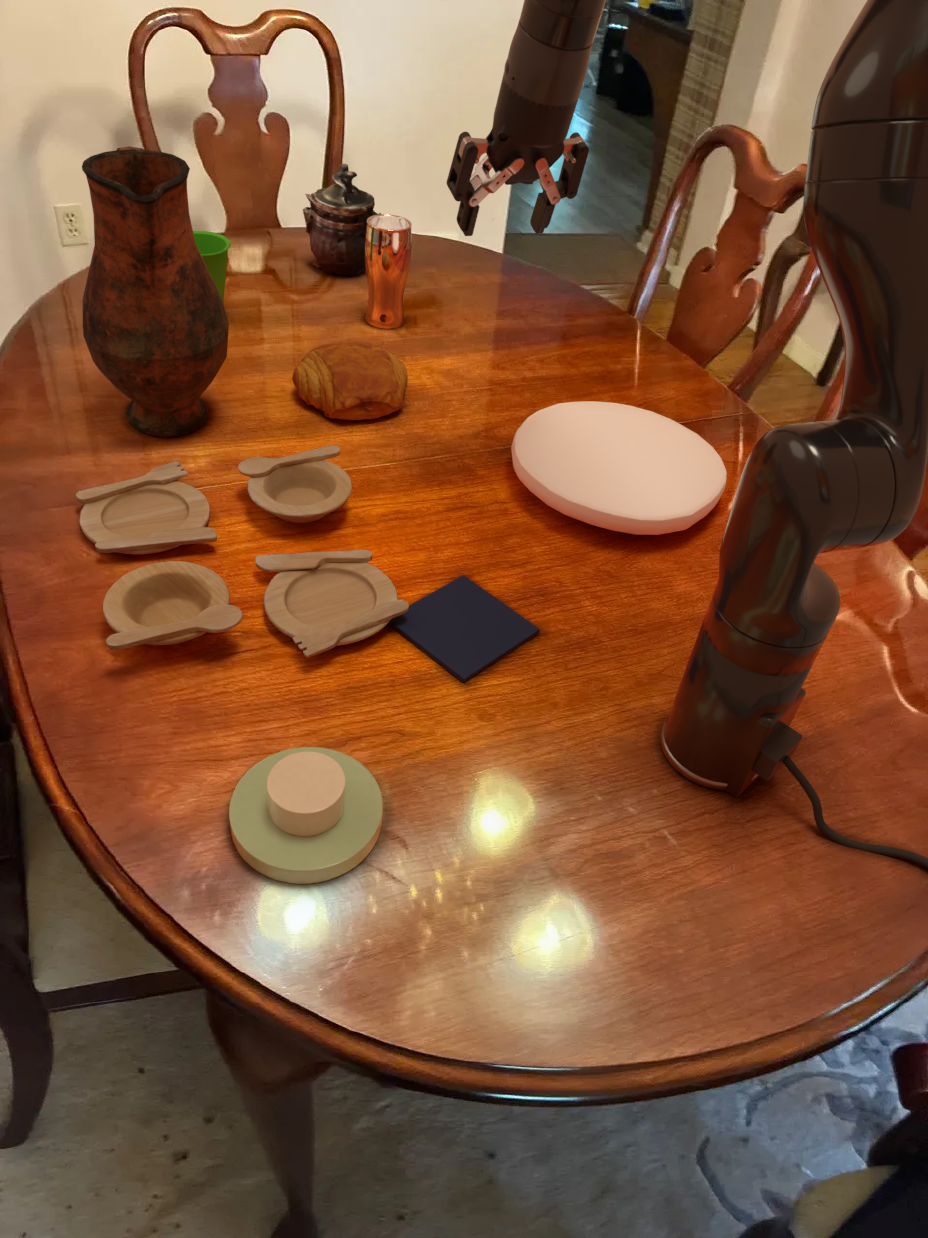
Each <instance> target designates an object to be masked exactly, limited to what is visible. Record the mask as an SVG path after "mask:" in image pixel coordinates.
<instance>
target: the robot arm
mask: <svg viewBox="0 0 928 1238" xmlns="http://www.w3.org/2000/svg"><path fill="white" fill-rule="evenodd" d="M606 2H607V0H523V4H522V8H521V12H520V16H519V20H518V23H517V26H516V29H515V32H514V34H513V37H512V39H511V42H510V46H509V49H508V53H507V57H506V60H505V63H504V69H503V75H502V79H501V83H500V87H499V91H498V96H497V100H496V104H495V107H494V112H493V119H492V127H491V130H490V131H489V133H488V135H487V136H486V137H485V138H482V137H481V138H480V137H473V136H471V134H470V132H468V131H462V132H461V133H460V134H459V135H458V139H457V142H456V145H455V146H456V147H455V149H454V154H453V157H452V161H451V164H450V168H449V171H448V174H447V175H448V176H447V178H446V186H447V188H448V190H449V192H450V194H451V195H452V197H453V199H454V201H456V202H458V203H459V206H458V211H457V215H456V222H457V225H458V227H459V229H460V231H461V232H462V233H463V235H464V237H473V235H474V231H475V228H476V227H475V226H476V223H477V219H478V214H479V210H480V205H479V204H480V203H481V202H482V201H484V199H485V198H486V197H487V196H489V194H495V193H496V192H497V191H499V189H500V188H501V187H502V186H503V185H506V186H510V185H511V186H512V185H516V184H523V185H533V184H534V182H537V181H538V183H539V185H540V187H541V190H542V192H538V194H537V198H536V200H535V204H534V207H533V210H532V213H531V217H530V221H529V222H530V223H529V225H530V227H531V228H532V230H533V232H534V233H535V234H536V235H538V234H540V235H541V234H543V233H545V229H547V228H548V227H549V225H550V224H551V221H552V220H551V219H552V217H553V214H554V211H555V209H556V205H557V204H559V203H560V201H561V200H562V199H565V198H567V199H568V200H572V199H575V198H576V196H577V195H578V191H579V188H580V184H581V181H582V178H583V174H584V170H585V167H586V166H585V165H586V163H587V158H588V156H589V153H590V147H589V146H588V144H587V143H586V141H585V140H584V138H583V137H582V135H581V134H580V133H579V132H577V131H576V132H573V133H571V134H570V136H569V138H568V137H567V136H568V135H569V130H570V127H571V124H572V121H573V117H574V114H575V111H576V108H577V105H578V102H579V99H580V95H581V92H582V89H583V86H584V82H585V80H586V76H587V73H588V68H589V65H590V59H591V53H592V48H593V44H594V41H595V38H596V34H597V31H598V29H599V25H600V22H601V19H602V15H603V12H604V9H605V5H606ZM811 130H812V131H810V139H809V148H808V156H807V163H806V173H805V180H804V181H805V182H804V187H803V188H804V189H803V204H802V207H803V209H802V210H803V211H802V212H803V214H802V215H803V220H804V221H803V222H804V226H805V231H806V235H807V239H808V242H809V246H810V249H811V251H812V255H813V257H814V260H815V263H816V265H817V268H818V270H819V273H820V275H821V278H822V281H823V283H824V284H825V288H826V290H827V292H828V294H829V297H830V300H831V302H832V304H833V306H834V309H835V312H836V315H837V319H838V320H839V325H840V329H841V333H842V340H843V348H844V352H843V353H844V355H843V356H844V364H843V380H842V387H841V388H842V390H841V397H840V404H839V409H838V414H837V416H836V419H832V420H820V421H819V420H817V421H807V422H796V423H788V424H782V425H778V426H775V427H773V428H771V429H769V430H768V431H767V432H765V433H764V434H763V435H762V436H761V437H760V438H759V439H758V440H757V442H756V443H755V445H754V446H753V448H752V449H751V451H750V453H749V455H748V457H747V459H746V461H745V464H744V467H743V469H742V471H741V475H740V478H739V481H738V484H737V488H736V491H735V494H734V495H735V496H734V498H733V502H732V506H731V510H730V512H729V516H728V519H727V523H726V526H725V531H724V533H723V537H722V540H721V544H720V549H719V557H718V580H717V582H716V585H715V588H714V590H713V593H712V595H711V598H710V601H709V603H708V607H707V608H706V612H705V615H704V618H703V620H702V623H701V626H700V627H699V631H698V632H697V633H698V634H697V636H696V639H695V641H694V644H693V647H692V650H691V653H690V655H689V658H688V661H687V664H686V665H685V669H684V672H683V674H682V677H681V679H680V681H679V685H678V688H677V690H676V693H675V696H674V699H673V701H672V704H671V707H670V710H669V712H668V713H667V716H666V719H665V720H664V723H663V725H662V728H661V732H660V739H659V740H660V747H661V751H662V753H663V755H664V757H665V758H666V760H667V762H668V763H669V764H670V765H671V766H672V767H673V768H674V769H675V771H677V772H678V773H679V774H680V775H681V776H683V777H685V778H686V779H688V780H689V781H691V782H692V783H694V784H697V785H699V786H702V787H705V788H708V789H713V790H719V791H725V792H727V793H728V794H730V795H731V796H733V797H735V798H736V797H739V796H740V795H741V794H742V793H743V792H744V791H745V790H746V789H747V788H748V787H749V786H750V785H751V784H752V783H754V782H755V781H756V780H757V779H758V778H759V777H761V779H763V780H765V781H766V782H768V781H769V780H770V779H771V778H772V777H773V776H774V775H775V774H776V773H777V772H778V771H779V770H780V769H781V768H782V767H783V766H785V767H786V770H788V772H790V775H792V776H793V777H794V779H795V780H796V781H797V783H798V784H799V786H800V787H801V788H802V789H803V791H804V793H805V794H806V796H807V797H808V799H809V801H810V802H811V806H812V811H813V812H812V813H813V819H814V823H815V825H816V827H817V829H818V830H819V831H820V833H822V834H823V835H824V836H825V837H827V838H828V839H829V840H831V841H833V842H834V843H837V844H839V845H841V846H844V847H846V848H851V849H855V850H859V851H863V852H867V853H871V854H877V855H881V856H882V855H883V856H888V857H894V858H899V859H903V860H907V861H910V862H913V863H915V864H918V865H920V866H922V867H924V868H926V869H928V857H926V856H924V855H921V854H919V853H916V852H913V851H909V850H906V849H903V848H898V847H893V846H892V847H891V846H885V845H879V844H872V843H866V842H862V841H857V840H853V839H850V838H848V837H845V836H843V835H841V834H840V833H838V832H836V831H834V829H832V828H831V827H830V826H829V825H828V824H827V823H826V821H825V819H824V815H823V814H824V813H823V807H822V803H821V800H820V798H819V797H820V796H819V795H818V794H817V791H816V790H815V789H814V787H813V786H812V784H811V783H810V781H809V779H808V778H807V777H806V776H805V775H804V773H803V772H802V771H801V770H800V768H799V767H798V765H796V763H795V762H794V760H793V759H792V756H793V755H794V754H795V752H796V750H797V748H798V746H799V744H800V743H801V740H802V739H803V736H804V735H802V734H801V733H800V732H798V731H797V730H795V729H794V728H792V727H791V725H792V722H793V720H794V718H795V717H796V714H797V712H798V710H799V709H800V706H801V705H802V702H803V701H804V699H805V696H806V693H807V690H806V689H805V688H803V686H804V684H805V681H806V679H807V678H808V675H809V674H810V671H811V669H812V668H813V665H814V663H815V661H816V659H817V658H818V655H819V653H820V651H821V649H822V647H823V645H824V643H825V641H826V639H827V637H828V635H829V633H830V632H831V630H832V627H833V625H834V623H835V621H836V620H837V617H838V615H839V612H840V609H841V601H842V600H841V594H840V590H839V588H838V586H837V584H836V582H835V581H834V580H833V579H832V577H831V576H830V575H829V574H828V573H827V571H825V570H824V569H823V568H822V567H821V566H819V565H818V564H817V563H815V561H816V559H817V557H818V556H819V555H820V554H826V553H834V552H840V551H841V552H842V551H847V550H855V549H862V548H868V547H873V546H879V545H882V544H884V543H888V542H890V541H892V540H895V539H896V538H897V537H899V535H901V534H902V533H903V532H904V531H905V530H906V529H907V528H908V526H909V525H910V523H911V522H912V520H913V518H914V516H915V514H916V513H917V510H918V507H919V505H920V501H921V498H922V494H923V490H924V485H925V480H926V474H927V466H928V465H927V464H928V0H866V1H865V4H864V5H863V7H862V8H861V10H860V11H859V13H858V15H857V16H856V18H855V20H854V21H853V23H852V25H851V26H850V29H848V32H847V33H846V35H845V37H844V39H843V41H842V43H840V46H839V47H838V50H837V52H836V54H835V55H834V57H833V59H832V61H831V63H830V65H829V67H828V69H827V71H826V73H825V75H824V78H823V79H822V82H821V85H820V87H819V91H818V94H817V97H816V100H815V105H814V110H813V114H812V122H811ZM484 154H486V155H485V156H484V157H483V158H482V159H481V160H480V158H481V157H482V156H483V155H484ZM562 156H563V162H562V165H561V169H560V172H559V177H558V180H555V178H554V176H553V174H552V171H551V169H550V168H551V167H553V165H554V164H555V163H556V162H557V161H558V160H559V159H560V158H562ZM475 165H476V166H475ZM492 169H493V171H494V173H495V174H494V175H492V177H491V175H490V171H491V170H492Z"/></svg>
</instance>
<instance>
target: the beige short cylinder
mask: <svg viewBox="0 0 928 1238" xmlns="http://www.w3.org/2000/svg"><path fill="white" fill-rule="evenodd" d="M345 786H346V779H345V774H344V771H343V769H342V768H341V766H340V765H339V764H338V763H337V762H336V761H335V760H334V759H332V758H331V757H329V756H327V755H325V754H322V753H318V752H308V751H306V752H298V753H294V754H291V755H289V756H286V757H285V758H283V759H281V760H280V761H279V762H277V763H276V764H275V765H274V767H273V768H272V769H271V771H270V773H269V775H268V778H267V797H268V811H269V815H270V817H271V819H272V821H273V822H274V823H275V825H276V826H277V827H279V828H280V829H281V830H283V831H285V832H287V833H289V834H292V835H296V836H314V835H318V834H321V833H323V832H326V831H327V830H329V829H331V828H332V827H333V826H334V825H335V824H336V823H337V822H338V821H339V820H340V818H341V817H342V815H343V812H344V809H345Z"/></svg>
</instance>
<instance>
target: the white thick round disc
mask: <svg viewBox="0 0 928 1238" xmlns="http://www.w3.org/2000/svg"><path fill="white" fill-rule="evenodd" d="M510 451H511V459H512V467H513V470H514V472H515V474H516V476H517V478H518V480H519V481H520V482H521V483H522V485H523V486H525V488H527V490H528V491H529V492H530V493H532V494H533V495H534V496H535V497H537V498H538V499H539V500H540V501H542V503H544V504H546V506H548V507H550V508H551V509H553V510H555V511H557V512H559V513H561V514H562V515H564V516H567V517H569V518H572V519H575V520H578V521H580V522H583V523H586V524H588V525H591V526H593V527H594V526H595V527H598V528H602V529H605V530H609V531H614V532H618V533H619V532H620V533H625V534H631V535H640V536H641V535H643V536H645V535H646V536H647V535H650V536H651V535H652V536H653V535H654V536H659V535H665V534H670V533H674V532H675V533H676V532H680V531H685V530H687V529H690V527H692V526H693V525H695V524H696V523H698V522H699V521H700V520H702V519H704V518H705V517H706V516H707V515H709V513H710V512H712V510H713V509H714V508H715V507H716V505H717V504H718V503H719V501H720V499H721V497H722V496H723V494H724V492H725V490H726V488H727V487H726V486H727V473H728V472H727V469H726V467H725V463H724V460H723V458H722V457H721V456H720V455H719V454H718V452H717V451H716V449H715V448H714V446H713V445H711V444H710V443H709V442H708V441H706V439H704V438H703V437H702V436H701V435H699V434H698V433H696V432H695V431H693V430H692V429H689V428H688V427H686V426H685V425H683V424H681V423H679V422H678V421H676V420H673V419H672V418H669V417H667V416H664V415H662V414H659V413H657V412H655V411H652V410H648V409H644V408H640V407H638V406H634V405H629V404H623V403H618V402H611V401H609V402H608V401H597V400H596V401H595V400H594V401H593V400H592V401H591V400H587V401H584V400H583V401H569V402H568V401H567V402H560V403H559V402H558V403H556V404H553V405H550V406H547V407H544V408H541V409H539V410H537V411H535V412H534V413H532V414H531V415H529V416H528V417H526V419H525V420H524V421H523V422H522V424H521V425H520V426H519V427H518V429H517V430H516V432H515V433H514V436H513V439H512V443H511V447H510Z"/></svg>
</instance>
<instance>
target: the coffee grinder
mask: <svg viewBox="0 0 928 1238" xmlns="http://www.w3.org/2000/svg"><path fill="white" fill-rule="evenodd" d="M357 177H358V174H357V173H356V172H355V171H351V170H349V164H348V163H341V164H340V171H338V172H336V173H334V174H332V177H331V178H332V180H333V182H335V183H333V184H330V186H329V187H328V186H327V187H323V188H318V189H316V191H314V192H312V193H309V194H308V193H305V194H304V196H305V197H306V199H307V201H308V202H309V206H305V207H304V208H303V209H302V213H303V217H304V222H305V223H304V224H305V232H306V233H307V234H308V236H309V247H310V251H311V253H312V255H313V256H314V258H315V260H314V261H313V262H311V265H312V266H315V268H319V269H322V270H323V271H324V272H326V273H328V274H329V275H334V274H336V275H338V276H343V275H345V276H349V277H352V278H353V277H355V276H356V275H358V274H359V273H361V272H362V271H364V272H366V269H365V259H364V247H365V234H366V226H367V219H368V218H369V217H371V216H373V215H379V214H382V213H381V212H379V213H378V212H376V211H375V210H374V209H375V197H374V196H373V195H372V194H371V193H368V192H367V191H364V190H361V189H359V188H358V186H356V185H354V184H353V179H354V178H357Z"/></svg>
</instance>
